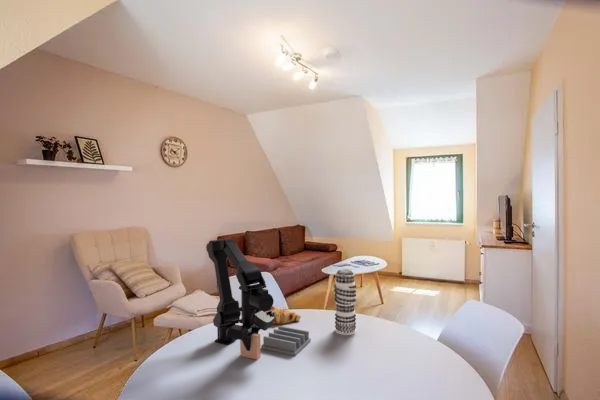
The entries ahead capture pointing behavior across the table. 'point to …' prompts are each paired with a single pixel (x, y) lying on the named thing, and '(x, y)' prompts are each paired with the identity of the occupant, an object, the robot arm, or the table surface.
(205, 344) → the table surface
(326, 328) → the table surface
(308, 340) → the dish rack
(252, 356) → the terracotta plate
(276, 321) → the croissant
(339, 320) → the black-white patterned cylinder
